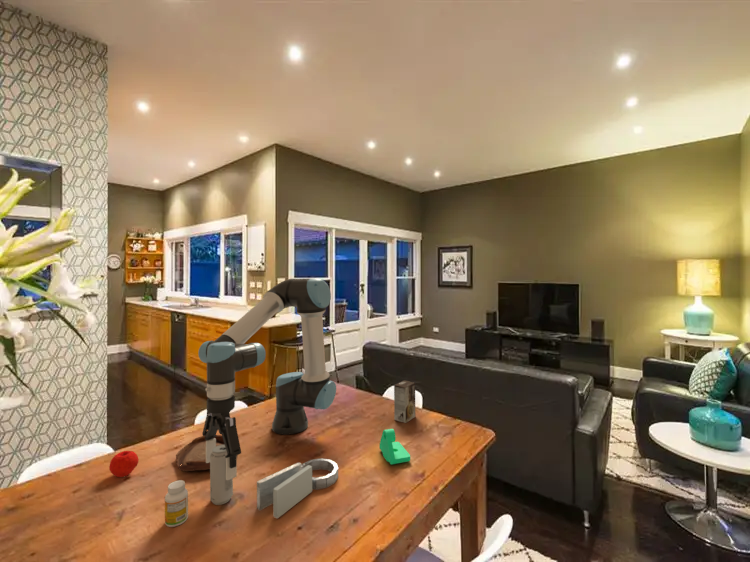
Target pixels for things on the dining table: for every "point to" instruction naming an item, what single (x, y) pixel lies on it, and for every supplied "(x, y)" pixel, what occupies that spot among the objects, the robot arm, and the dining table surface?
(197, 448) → the basket
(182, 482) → the supplement bottle
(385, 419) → the dining table surface
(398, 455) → the camera mount
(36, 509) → the dining table surface
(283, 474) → the hinge fixed
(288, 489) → the hinge leaf
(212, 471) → the energy drink can
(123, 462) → the apple
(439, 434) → the dining table surface
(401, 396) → the coffee box
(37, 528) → the dining table surface
